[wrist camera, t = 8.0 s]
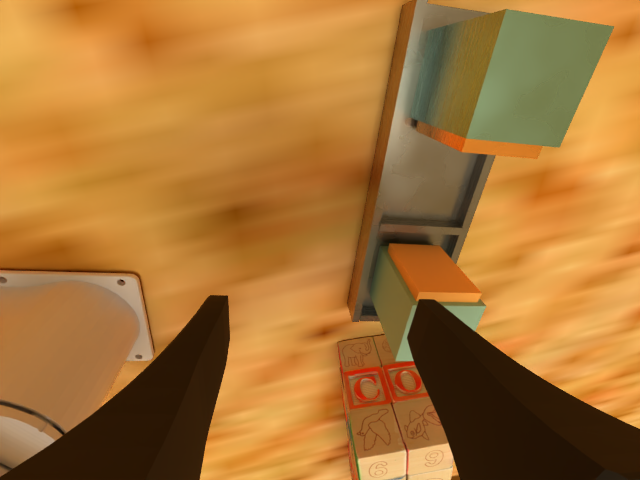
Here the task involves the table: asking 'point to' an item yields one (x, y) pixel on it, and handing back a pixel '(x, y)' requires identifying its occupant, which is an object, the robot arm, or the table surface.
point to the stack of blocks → (389, 416)
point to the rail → (414, 168)
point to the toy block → (419, 290)
